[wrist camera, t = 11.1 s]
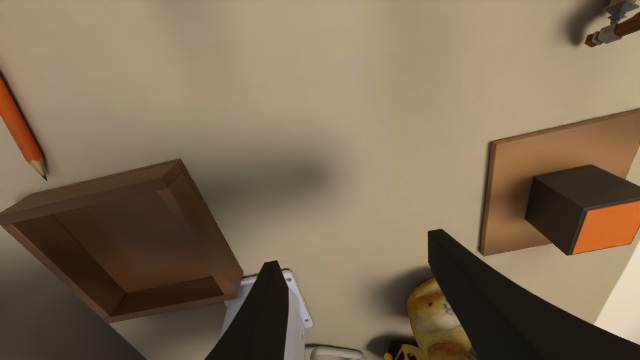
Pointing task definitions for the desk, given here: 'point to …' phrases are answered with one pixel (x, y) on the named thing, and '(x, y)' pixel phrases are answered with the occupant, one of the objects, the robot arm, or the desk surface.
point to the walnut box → (130, 242)
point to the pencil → (20, 131)
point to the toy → (403, 352)
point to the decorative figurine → (437, 325)
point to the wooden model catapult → (616, 23)
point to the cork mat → (546, 157)
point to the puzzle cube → (584, 209)
